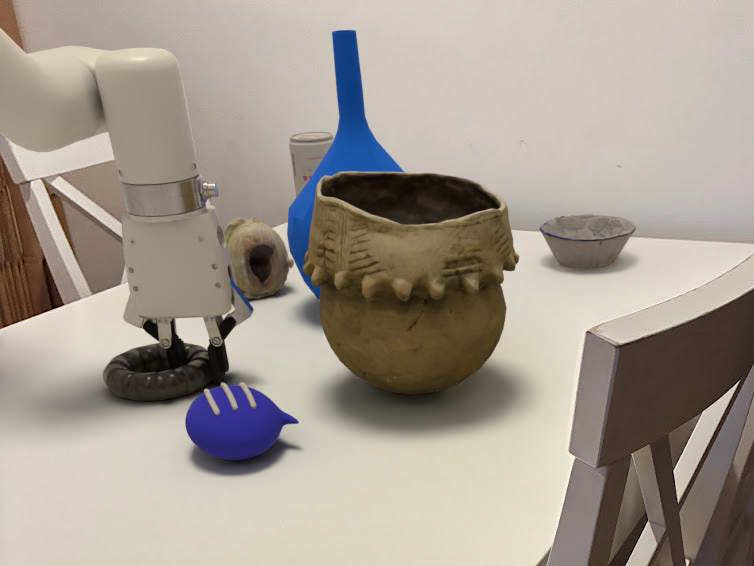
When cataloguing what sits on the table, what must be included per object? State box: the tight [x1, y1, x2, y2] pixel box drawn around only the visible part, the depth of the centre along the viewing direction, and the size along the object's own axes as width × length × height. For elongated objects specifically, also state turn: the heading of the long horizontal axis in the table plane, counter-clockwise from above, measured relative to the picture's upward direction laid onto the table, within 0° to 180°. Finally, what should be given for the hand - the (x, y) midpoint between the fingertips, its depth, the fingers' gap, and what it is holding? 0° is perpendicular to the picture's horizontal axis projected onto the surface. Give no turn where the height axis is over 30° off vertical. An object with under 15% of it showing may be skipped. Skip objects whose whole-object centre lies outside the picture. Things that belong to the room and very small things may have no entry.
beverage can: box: [288, 130, 335, 198], centre depth 145 cm, size 6×6×15 cm
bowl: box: [539, 213, 637, 270], centre depth 136 cm, size 13×13×5 cm
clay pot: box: [303, 171, 520, 395], centre depth 97 cm, size 21×21×20 cm
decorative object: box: [184, 381, 299, 461], centre depth 91 cm, size 10×6×10 cm
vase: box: [286, 29, 405, 302], centre depth 116 cm, size 18×18×30 cm
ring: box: [102, 342, 213, 402], centre depth 106 cm, size 12×12×3 cm
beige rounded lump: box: [223, 215, 295, 300], centre depth 129 cm, size 9×8×10 cm
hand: (201, 377), depth 106 cm, fingers closed on ring, 3 cm apart
